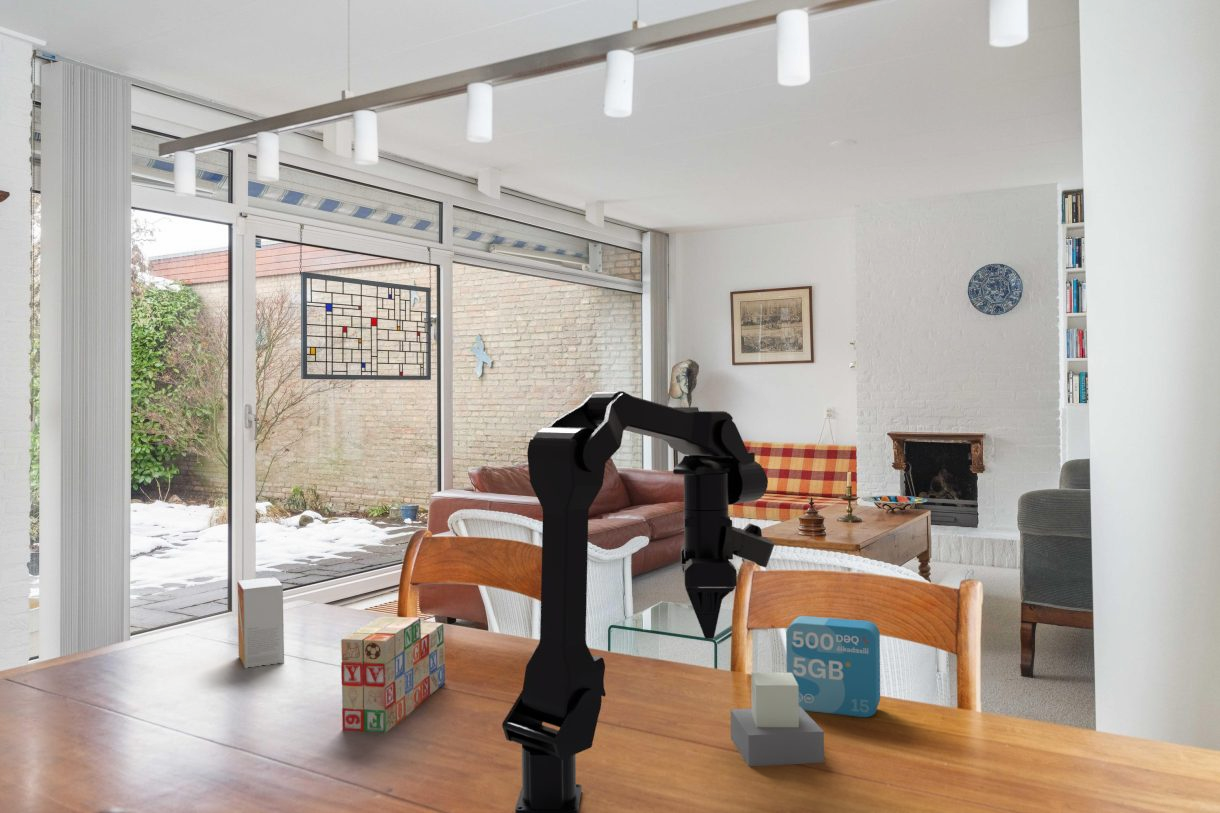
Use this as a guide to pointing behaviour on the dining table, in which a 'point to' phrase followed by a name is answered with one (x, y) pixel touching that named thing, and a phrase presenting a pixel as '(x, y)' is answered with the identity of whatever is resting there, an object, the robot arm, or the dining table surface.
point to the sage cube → (774, 700)
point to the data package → (835, 665)
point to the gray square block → (777, 740)
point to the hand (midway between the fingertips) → (707, 629)
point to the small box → (260, 622)
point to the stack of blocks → (389, 671)
